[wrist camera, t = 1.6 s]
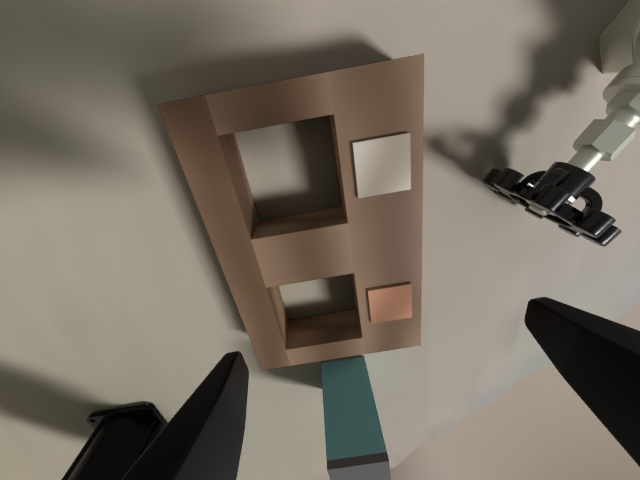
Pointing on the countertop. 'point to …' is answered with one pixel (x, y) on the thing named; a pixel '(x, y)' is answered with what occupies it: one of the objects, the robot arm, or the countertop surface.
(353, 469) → the plug
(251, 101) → the socket plate
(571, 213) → the valve
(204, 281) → the countertop surface
